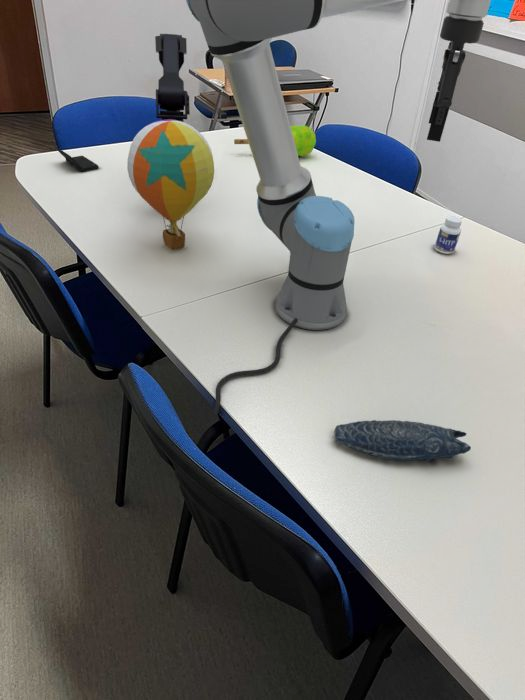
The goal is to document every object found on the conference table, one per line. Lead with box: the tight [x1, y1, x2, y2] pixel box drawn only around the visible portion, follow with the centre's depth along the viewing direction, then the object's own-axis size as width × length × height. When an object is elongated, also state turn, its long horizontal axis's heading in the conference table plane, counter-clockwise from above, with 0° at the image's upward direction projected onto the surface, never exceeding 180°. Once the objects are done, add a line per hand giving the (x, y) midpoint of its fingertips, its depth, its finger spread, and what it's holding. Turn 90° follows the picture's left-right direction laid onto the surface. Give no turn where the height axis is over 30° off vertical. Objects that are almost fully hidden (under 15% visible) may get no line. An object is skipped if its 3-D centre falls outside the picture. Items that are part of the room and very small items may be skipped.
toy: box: [126, 119, 215, 251], centre depth 121 cm, size 20×20×30 cm
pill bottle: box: [434, 215, 463, 255], centre depth 137 cm, size 5×5×9 cm
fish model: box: [333, 419, 472, 462], centre depth 82 cm, size 7×21×5 cm, turn 84°
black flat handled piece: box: [53, 145, 99, 172], centre depth 166 cm, size 12×7×10 cm
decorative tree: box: [233, 125, 317, 157], centre depth 187 cm, size 18×10×30 cm
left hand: (174, 195), depth 145 cm, fingers open, 9 cm apart
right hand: (433, 131), depth 113 cm, fingers open, 13 cm apart
